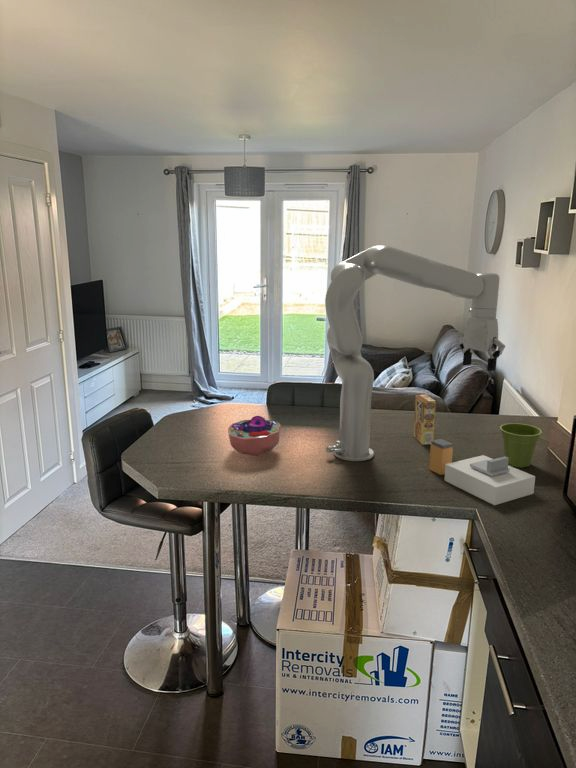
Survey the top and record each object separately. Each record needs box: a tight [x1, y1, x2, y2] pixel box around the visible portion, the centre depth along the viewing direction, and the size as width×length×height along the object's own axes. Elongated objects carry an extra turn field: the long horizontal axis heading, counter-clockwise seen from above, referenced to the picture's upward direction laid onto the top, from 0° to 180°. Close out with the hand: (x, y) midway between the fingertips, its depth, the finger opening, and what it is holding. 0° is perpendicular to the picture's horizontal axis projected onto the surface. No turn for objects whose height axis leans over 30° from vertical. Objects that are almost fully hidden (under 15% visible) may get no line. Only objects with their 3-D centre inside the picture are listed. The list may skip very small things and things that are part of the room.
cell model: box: [227, 415, 282, 457], centre depth 181 cm, size 17×20×11 cm
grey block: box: [470, 456, 510, 476], centre depth 155 cm, size 7×8×4 cm
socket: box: [444, 454, 536, 506], centre depth 156 cm, size 15×18×5 cm
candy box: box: [413, 394, 437, 446], centre depth 192 cm, size 9×4×15 cm, turn 8°
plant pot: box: [499, 422, 543, 469], centre depth 172 cm, size 12×12×11 cm
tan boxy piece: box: [428, 438, 454, 476], centre depth 167 cm, size 4×5×9 cm
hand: (478, 367), depth 179 cm, fingers open, 9 cm apart
